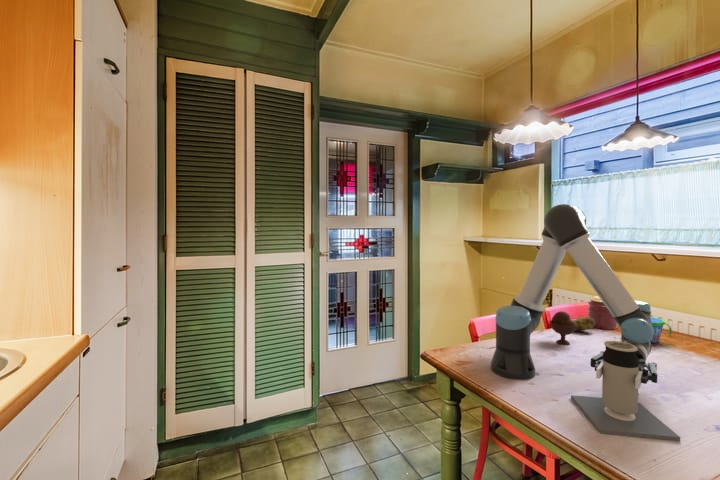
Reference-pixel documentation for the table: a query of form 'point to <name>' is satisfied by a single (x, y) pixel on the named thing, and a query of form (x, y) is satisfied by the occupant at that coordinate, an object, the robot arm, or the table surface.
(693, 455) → the table surface
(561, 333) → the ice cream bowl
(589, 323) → the potato
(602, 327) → the canister
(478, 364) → the table surface
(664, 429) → the mat
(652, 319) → the snack cup
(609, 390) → the travel mug
